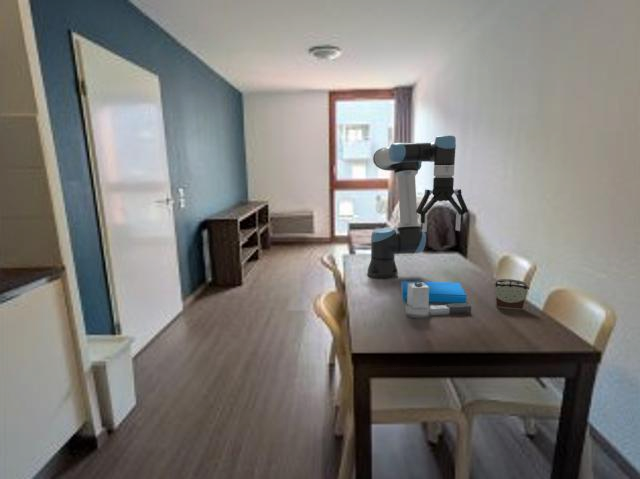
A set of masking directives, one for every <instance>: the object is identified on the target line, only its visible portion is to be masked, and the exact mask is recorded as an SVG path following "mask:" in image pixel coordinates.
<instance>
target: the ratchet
mask: <svg viewBox="0 0 640 479" xmlns="http://www.w3.org/2000/svg"><path fill="white" fill-rule="evenodd" d="M471 312H472V306H471V304H468V303H467V302H466V303H445V304H443V305H430V304H429V305H428V309H416V310H412V309H411V308H410V307H409V305H408V304H407V303H406V304H405V315H406V316H407V317H409V318H411V319H414V320H415V319H418V320H425V319H428V318H430V317H431V316H441V315H442V316H445V315H451V316H452V315H465V314H466V315H467V314H468V315H469V314H472V313H471Z"/></svg>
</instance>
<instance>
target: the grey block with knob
mask: <svg viewBox="0 0 640 479" xmlns="http://www.w3.org/2000/svg"><path fill="white" fill-rule="evenodd" d="M424 282H425V281H422V282H420V283H419V282H416V283H408V292H407V301H406V304H408V305H409V307H410V308H411V309H412V310H416V309H428V305H429V306H430V302H429V287H428V286H427V285H426V284H425V283H424Z"/></svg>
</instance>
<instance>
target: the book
mask: <svg viewBox="0 0 640 479" xmlns="http://www.w3.org/2000/svg"><path fill="white" fill-rule="evenodd" d="M416 282H419V283H420V282H424V283H425V284H426V285H427V286H428V287H429V303H445V304H453V303H467V293H466V292H465V291H464V289H463V286H462V285H461V283H460V282H444V281H443V282H441V281H418V280H416V281H415V280H401V298H402V300H401V301H404V302H405V301H406V302H407V292H408V283H416Z"/></svg>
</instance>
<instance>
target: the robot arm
mask: <svg viewBox="0 0 640 479" xmlns="http://www.w3.org/2000/svg"><path fill="white" fill-rule="evenodd" d="M434 139H435V140H434V142H392V143H391V144H390V146H388V147H382V148H379V149H377V150H376V151H374V152H375V153H374V154H373V155H372V156H373V157H372V162H373V164H374V165H375V167H377V168H378V169H380V170H381V171H382V170H383V171H386V172H387V171H389V172H390V171H391V172H394V176H395V177H397V184H398V185H397V187H398V207H399V209H398V210H399V225H398V226H397V230H396V229H395V227H383V228H378V229H375V230H374V231H372V233H371V237H370V238H371V239H370V244H371V245H370V249H371V250H370V262H369V265H368V268H367V276H368V277H370V278H373V279H383V280H384V279H387V280H388V279H394V278H396V277H398V275H399V270H398V268H397V264H396V260H395V257H396V256H395V255H409V254H410V255H414V254H420V253H422V252H423V251H424V249H425V247H426V244H427V234H426V233H427V230H428V229H427V228H428V215H427V213H428V211H430V209H431V208H432V207H433V206H434V205H435V203H437V202H443V201H444V202H449V203H450V205H452V207H453V209H455V211H456V212H457V213H456V215H455V229H454V230H455V231H457V232H461V223H463V222H464V221H463V220H464V215H465V214H466V213H469V209H468V206H467V205H466V203H465V200H464V197H463V194H462V189H461V188H456V189H454V182H455V181H454V180H455V179H454V177H453V176H455V164H456V163H455V160H456V148H457V145H456V144H457V143H456V141H457V140H456V136H455V135H438V136H435V138H434ZM423 162H424V163H425V162H426V163H427V162H428V163H429V162H430V163H432V162H433V163H434V164H433V167H434V168H433V176H434V178H433V182H432V183H433V185H432V190H431V189H424V195H423V197H422V199H421V201H420V203H419V205H417V186H416V176H417V175H418V173H419V170H420V169H421V168H422V163H423ZM431 195H432V196H433V197H431V199H430V201H429V202H428V200H429V198H430V196H431ZM453 195H455V196H456V199H457V201H455V200H456V199H455V198H454V197H453ZM427 202H428V203H427ZM457 202H458V203H457ZM426 203H427V204H426ZM418 214H419V215H420V223H421V224H422V226H421V225H420V224H419V221H418Z"/></svg>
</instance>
